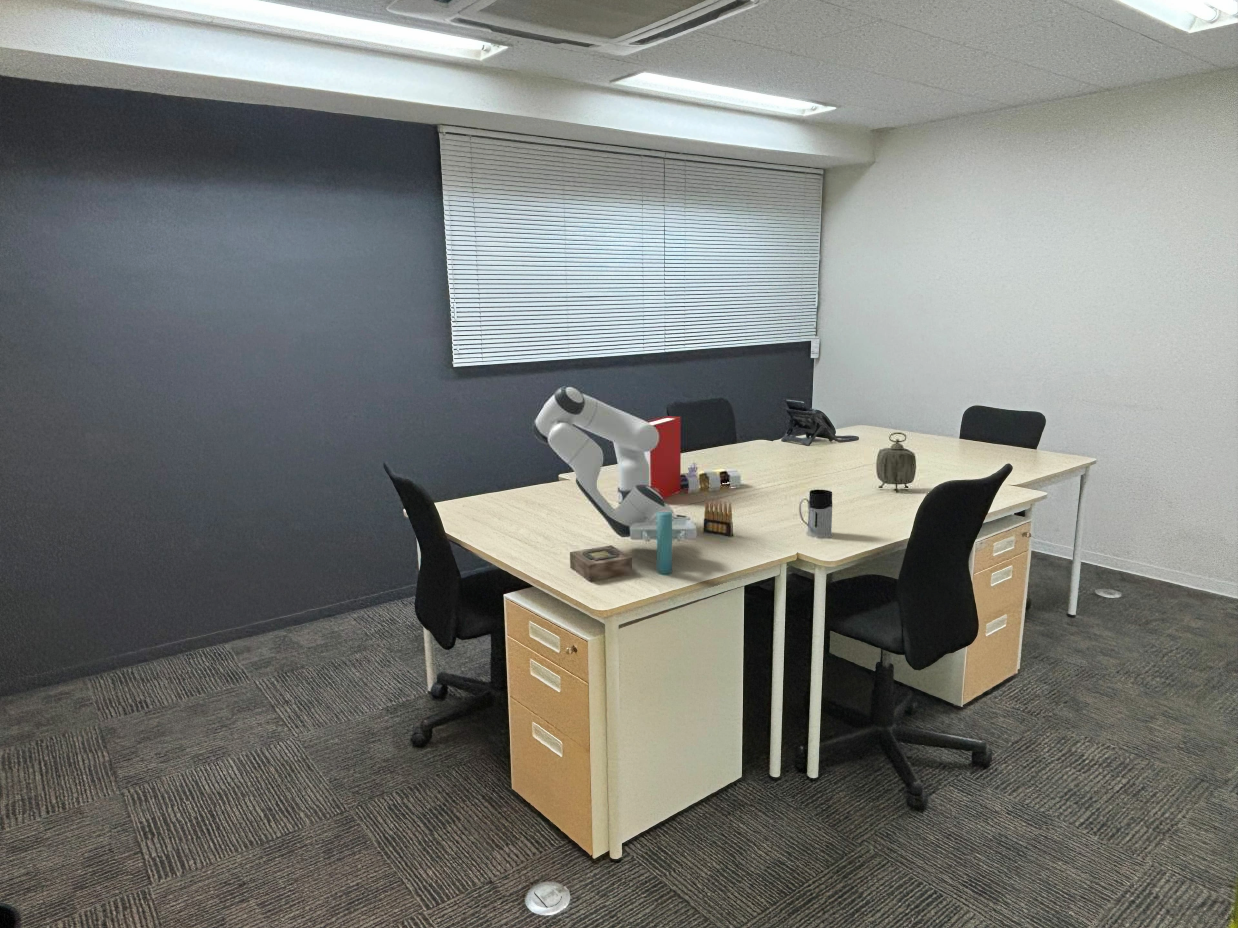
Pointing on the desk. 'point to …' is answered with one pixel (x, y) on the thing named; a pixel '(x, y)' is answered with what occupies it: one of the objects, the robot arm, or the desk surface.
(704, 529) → the ammunition clip
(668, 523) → the peg
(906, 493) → the desk surface
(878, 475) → the tabletop clock
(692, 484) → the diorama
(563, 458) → the robot arm
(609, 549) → the socket block
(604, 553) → the tan square plate
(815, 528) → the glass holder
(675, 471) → the book
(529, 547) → the desk surface
